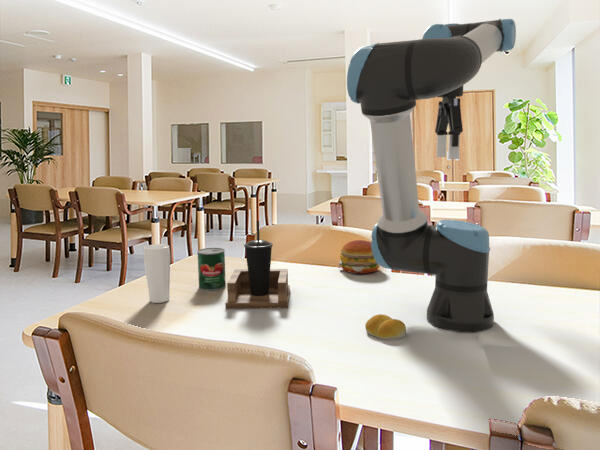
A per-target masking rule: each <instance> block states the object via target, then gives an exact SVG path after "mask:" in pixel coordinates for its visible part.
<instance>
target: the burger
mask: <svg viewBox="0 0 600 450" xmlns="http://www.w3.org/2000/svg"><path fill="white" fill-rule="evenodd" d="M339 258H340V260H339V262H338V268H339V269H341V268H342V270H343V271H345V272H348V273H352V274H370V273H373V272H376V271H378V269H379V268H380V265H379V264H378V263H377V262H376V260H375V259H374V256H373V253H372V248H371V241H369V240H363V239H362V240H361V239H358V240H351V241H349V242H347V243H345V244H344V245H343V246H342V247H341V249H340V254H339Z"/></svg>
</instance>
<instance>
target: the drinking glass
mask: <svg viewBox="0 0 600 450" xmlns="http://www.w3.org/2000/svg"><path fill="white" fill-rule="evenodd" d="M143 263H144V270H145V277H146V283H147V289H148V290H147V291H148V300H149V302H150V303H153V304H162V303H163V304H164V303H166V302H168V301H169V300H170V299H171V298H170V297H171V296H170V294H171V293H170V284H171V283H170V282H171V280H170V277H171V276H170V275H171V251H170V245H168V244H165V243H164V244H163V243H157V244H154V243H153V244H149V245H145V246H144V247H143Z"/></svg>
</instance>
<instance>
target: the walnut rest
mask: <svg viewBox="0 0 600 450" xmlns="http://www.w3.org/2000/svg"><path fill="white" fill-rule="evenodd" d="M288 270H289V269H288V268H270V279H269V293H268V294H267V295H264V296H254V295H251V291H250V283H249V275H248V268H245V269H243V268H242V269H241V268H239V269H238V268H237V269H234V270H233V272H232V274H231V276H230V277H229V280H228V281H227V282H226V287H227V288H226V289H227V299H226V300H225V303H224V304H225V305H224V306H225V309H229V310H231V309H232V310H233V309H236V310H238V309H240V310H242V309H244V310H245V309H289V300H290V293H291V292H290V291H291V285H290V284H289V273H288V272H289V271H288Z"/></svg>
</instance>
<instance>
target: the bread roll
mask: <svg viewBox="0 0 600 450" xmlns="http://www.w3.org/2000/svg"><path fill="white" fill-rule="evenodd" d="M364 327H365V330H366V331H365V332H367V334H368V335H369V336H372V337H376V338H377V339H379V340H384V341H391V340H400V339H403V338H404V337H405V335H406V334H407V327H406V324H405V323H404V322H403V321H402V320H401V319H395V318H392V317H390V315H389V316H388V315H387V314H375V315H373V316H371V318H369V319H368V320H367V321H366V322H365V326H364Z"/></svg>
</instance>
